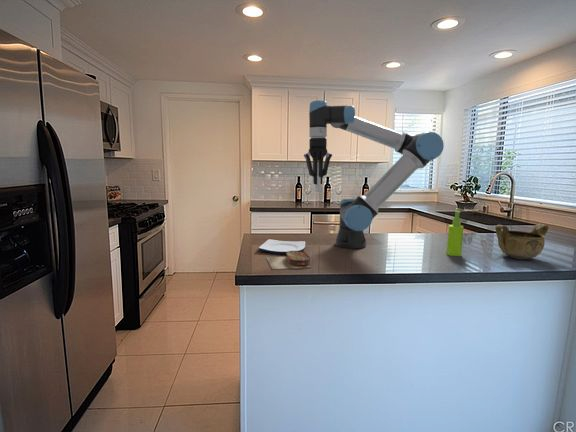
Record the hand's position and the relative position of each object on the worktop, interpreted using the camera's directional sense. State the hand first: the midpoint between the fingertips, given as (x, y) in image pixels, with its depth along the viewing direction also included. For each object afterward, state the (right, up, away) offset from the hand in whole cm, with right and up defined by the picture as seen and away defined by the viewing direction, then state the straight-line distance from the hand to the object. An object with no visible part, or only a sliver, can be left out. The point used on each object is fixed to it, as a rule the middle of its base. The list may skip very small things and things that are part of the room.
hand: (317, 191), depth 150 cm
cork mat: (-14, -30, -15) cm, 36 cm away
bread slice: (-5, -28, -14) cm, 32 cm away
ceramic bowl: (+88, -30, -3) cm, 93 cm away
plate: (-16, -27, +6) cm, 32 cm away
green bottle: (+62, -29, +2) cm, 68 cm away
